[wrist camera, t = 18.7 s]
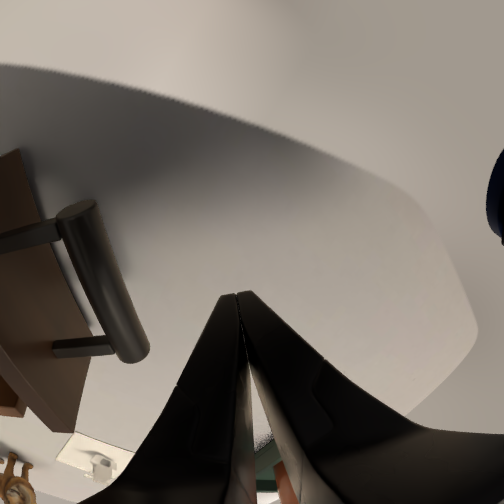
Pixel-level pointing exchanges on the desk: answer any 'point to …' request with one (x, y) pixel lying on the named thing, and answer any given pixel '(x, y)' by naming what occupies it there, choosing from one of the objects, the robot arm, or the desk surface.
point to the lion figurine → (16, 484)
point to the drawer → (55, 304)
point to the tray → (266, 467)
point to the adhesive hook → (95, 458)
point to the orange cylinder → (284, 485)
